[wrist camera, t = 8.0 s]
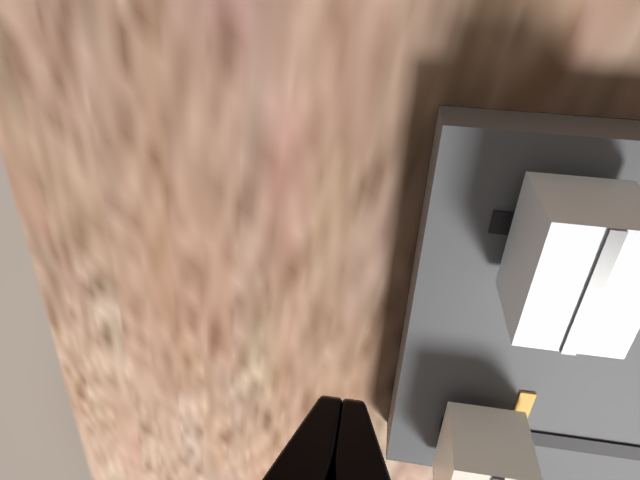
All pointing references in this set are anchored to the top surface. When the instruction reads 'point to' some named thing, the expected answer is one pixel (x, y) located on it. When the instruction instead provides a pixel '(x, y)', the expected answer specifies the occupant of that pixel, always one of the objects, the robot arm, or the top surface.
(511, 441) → the cream fader
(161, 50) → the top surface
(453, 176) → the console
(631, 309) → the white fader
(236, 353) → the top surface
